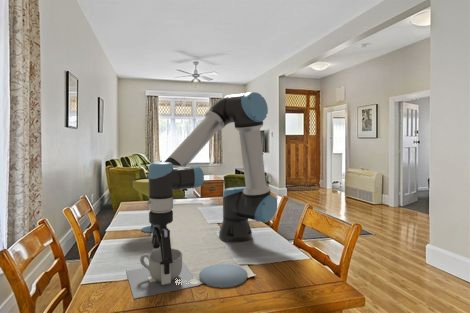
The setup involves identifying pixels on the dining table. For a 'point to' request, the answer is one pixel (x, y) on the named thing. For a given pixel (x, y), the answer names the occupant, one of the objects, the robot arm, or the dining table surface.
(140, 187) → the cocktail glass
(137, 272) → the card
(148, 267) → the teacup
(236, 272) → the coaster
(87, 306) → the dining table surface
